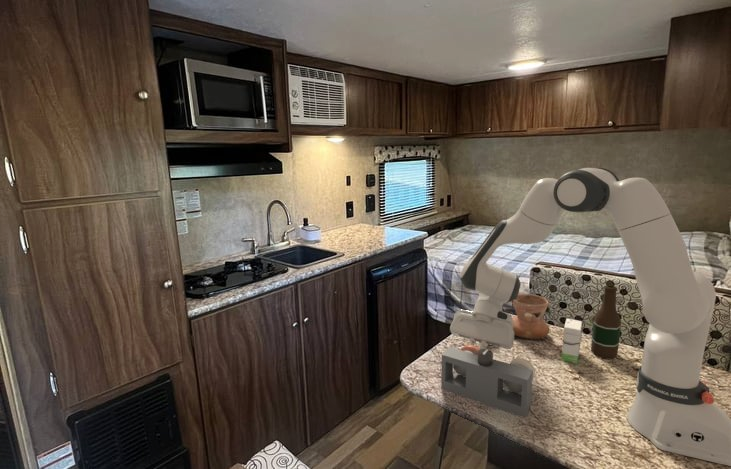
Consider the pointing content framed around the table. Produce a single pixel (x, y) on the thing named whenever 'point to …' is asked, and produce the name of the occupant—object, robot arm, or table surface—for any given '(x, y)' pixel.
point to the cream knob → (521, 363)
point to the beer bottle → (606, 326)
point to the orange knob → (469, 349)
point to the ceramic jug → (530, 316)
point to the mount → (487, 381)
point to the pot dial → (485, 357)
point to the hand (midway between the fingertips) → (475, 354)
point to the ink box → (571, 340)
